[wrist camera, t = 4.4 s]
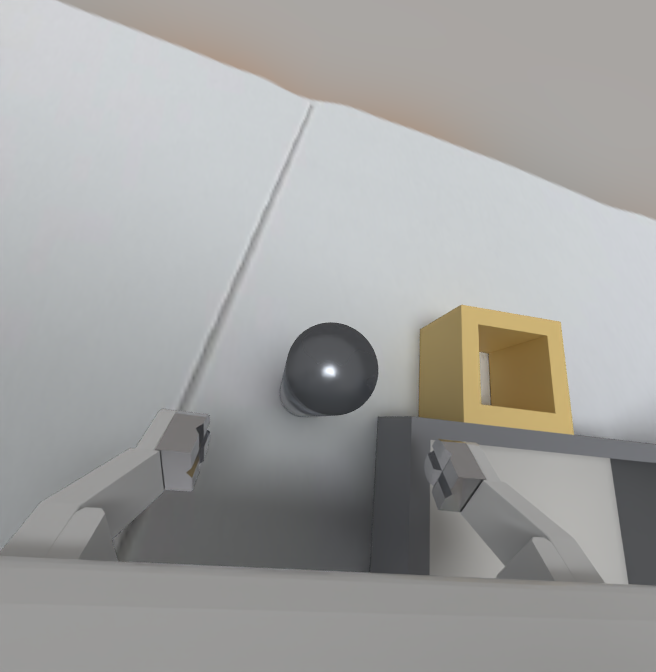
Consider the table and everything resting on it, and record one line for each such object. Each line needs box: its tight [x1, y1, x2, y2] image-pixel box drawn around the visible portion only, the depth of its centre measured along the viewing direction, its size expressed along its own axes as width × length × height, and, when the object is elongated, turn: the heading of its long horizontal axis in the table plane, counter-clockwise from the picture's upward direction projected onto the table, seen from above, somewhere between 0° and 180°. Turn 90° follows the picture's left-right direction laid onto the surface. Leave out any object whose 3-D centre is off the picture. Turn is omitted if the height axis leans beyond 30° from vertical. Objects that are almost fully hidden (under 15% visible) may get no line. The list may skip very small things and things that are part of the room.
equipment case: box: [370, 416, 656, 586], centre depth 16 cm, size 17×12×6 cm
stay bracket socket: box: [419, 305, 574, 435], centre depth 19 cm, size 6×6×5 cm
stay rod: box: [280, 323, 378, 417], centre depth 14 cm, size 3×3×10 cm
